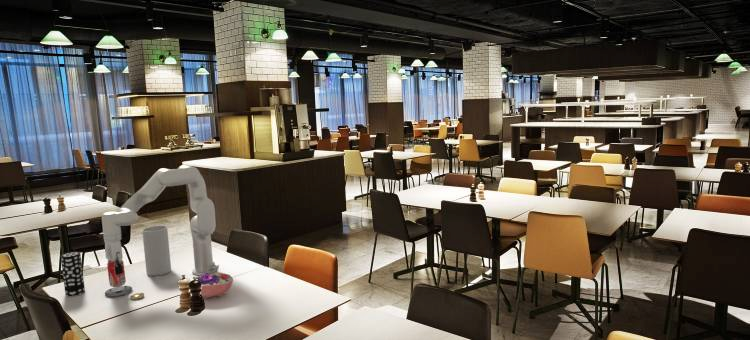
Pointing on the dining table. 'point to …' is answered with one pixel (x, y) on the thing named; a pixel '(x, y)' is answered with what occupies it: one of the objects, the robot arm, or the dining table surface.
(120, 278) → the soda can
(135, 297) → the disc
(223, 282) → the cell model
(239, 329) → the dining table surface
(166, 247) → the cylinder vase
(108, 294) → the disc
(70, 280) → the white-spotted black cylinder
